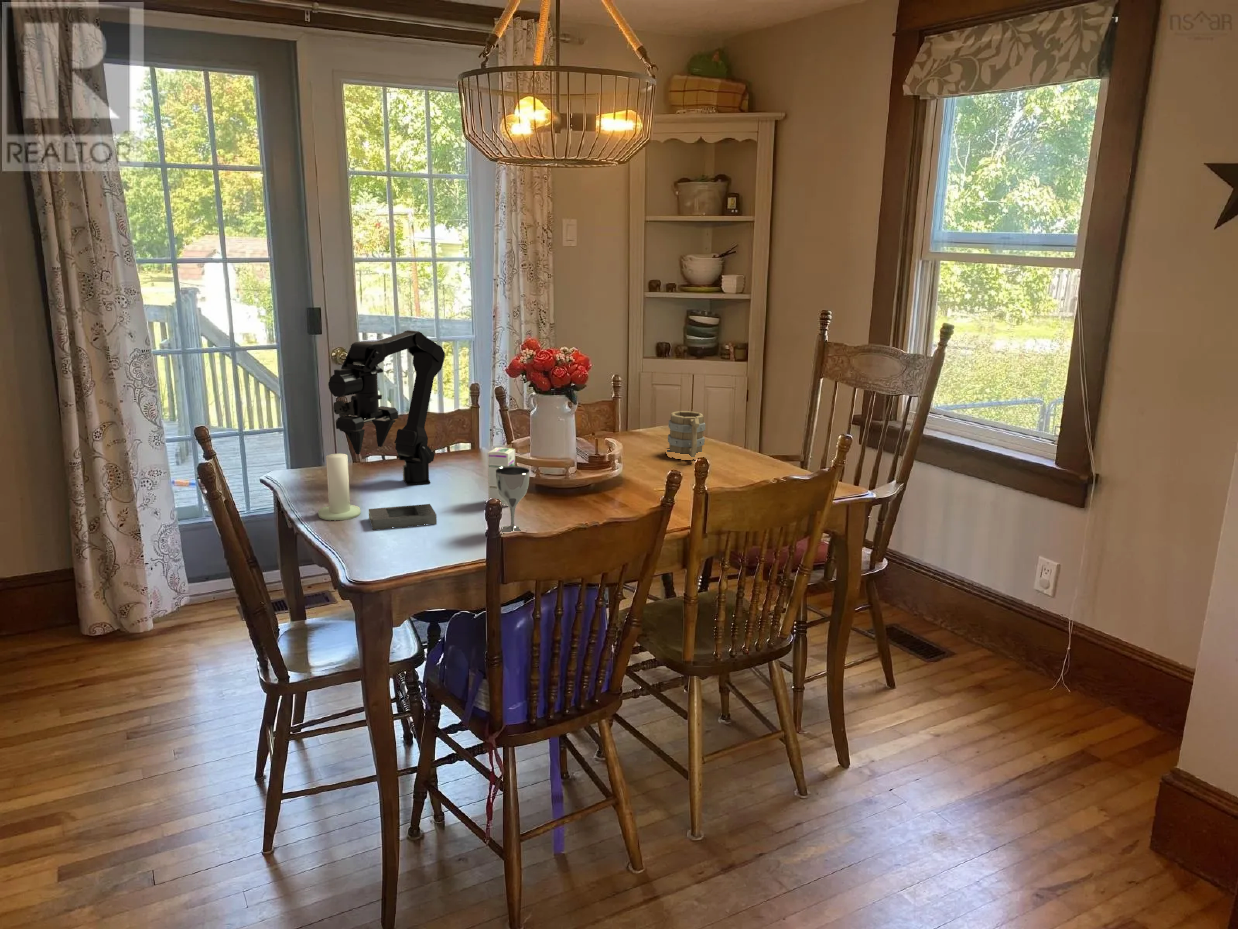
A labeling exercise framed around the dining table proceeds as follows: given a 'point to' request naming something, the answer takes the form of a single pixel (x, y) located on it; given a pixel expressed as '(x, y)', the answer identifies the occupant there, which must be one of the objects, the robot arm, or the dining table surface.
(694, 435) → the tankard
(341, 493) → the cream round peg
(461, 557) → the dining table surface
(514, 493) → the wine glass
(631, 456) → the dining table surface
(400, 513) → the dark grey peg holder
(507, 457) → the syrup box
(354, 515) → the sage mat
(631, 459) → the dining table surface
